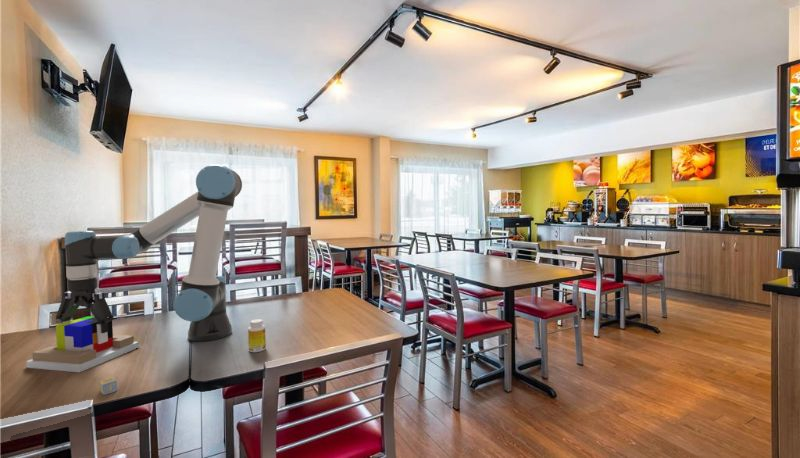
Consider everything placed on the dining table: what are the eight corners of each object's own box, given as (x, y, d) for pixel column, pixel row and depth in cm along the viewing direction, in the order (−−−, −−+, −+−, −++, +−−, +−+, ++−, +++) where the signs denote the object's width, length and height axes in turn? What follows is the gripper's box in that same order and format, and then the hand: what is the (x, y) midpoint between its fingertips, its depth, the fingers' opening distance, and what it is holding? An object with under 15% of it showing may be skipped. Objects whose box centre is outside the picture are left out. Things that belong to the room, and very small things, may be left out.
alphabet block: (102, 395, 95) (102, 384, 94) (100, 392, 97) (99, 380, 96) (117, 391, 97) (116, 380, 97) (114, 387, 99) (114, 376, 99)
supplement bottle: (266, 351, 124) (265, 321, 123) (249, 354, 121) (248, 324, 121) (265, 345, 129) (264, 317, 128) (248, 348, 126) (247, 319, 126)
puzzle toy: (82, 358, 114) (81, 326, 114) (57, 355, 116) (55, 325, 115) (113, 346, 124) (112, 317, 123) (89, 344, 126) (88, 316, 125)
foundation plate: (138, 347, 128) (138, 335, 128) (79, 372, 108) (78, 357, 108) (92, 344, 132) (91, 331, 131) (26, 367, 112) (25, 353, 112)
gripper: (124, 276, 120) (128, 339, 121) (64, 274, 125) (67, 335, 126) (102, 281, 113) (106, 347, 114) (38, 279, 117) (42, 343, 118)
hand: (85, 341), depth 120 cm, fingers open, 13 cm apart
